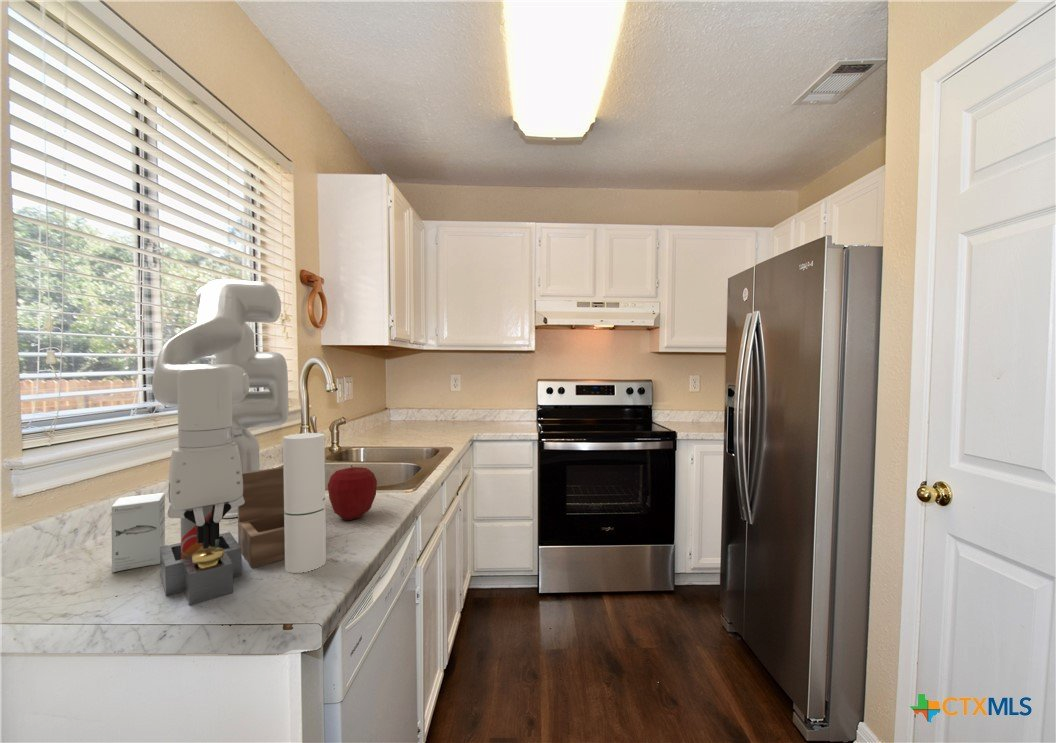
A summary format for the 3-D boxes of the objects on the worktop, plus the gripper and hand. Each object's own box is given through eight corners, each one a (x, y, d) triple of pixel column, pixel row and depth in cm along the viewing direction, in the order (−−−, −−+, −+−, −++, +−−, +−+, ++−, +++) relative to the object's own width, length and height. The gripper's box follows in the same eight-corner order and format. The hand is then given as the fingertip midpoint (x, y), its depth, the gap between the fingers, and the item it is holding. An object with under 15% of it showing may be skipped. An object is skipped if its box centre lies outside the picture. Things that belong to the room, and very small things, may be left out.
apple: (366, 525, 109) (366, 470, 109) (318, 525, 109) (318, 470, 109) (383, 509, 121) (383, 459, 121) (340, 509, 121) (339, 460, 121)
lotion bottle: (199, 583, 81) (197, 470, 80) (173, 580, 82) (171, 469, 82) (227, 569, 86) (225, 464, 86) (202, 566, 87) (200, 462, 87)
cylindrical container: (330, 555, 92) (328, 432, 92) (320, 571, 85) (318, 438, 85) (292, 558, 91) (290, 433, 90) (279, 574, 84) (277, 439, 83)
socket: (160, 573, 84) (159, 547, 84) (230, 556, 92) (229, 532, 92) (169, 611, 71) (169, 579, 71) (249, 587, 79) (249, 558, 79)
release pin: (191, 586, 78) (190, 552, 77) (221, 577, 81) (221, 545, 80) (194, 595, 74) (193, 560, 74) (226, 586, 77) (225, 552, 77)
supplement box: (110, 574, 85) (109, 506, 84) (119, 559, 91) (118, 496, 91) (161, 564, 88) (159, 500, 88) (166, 551, 95) (165, 491, 95)
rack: (238, 549, 96) (237, 473, 95) (295, 535, 103) (294, 465, 103) (251, 568, 87) (250, 484, 86) (312, 551, 94) (311, 474, 94)
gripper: (251, 431, 85) (253, 528, 86) (147, 441, 75) (150, 551, 75) (261, 436, 79) (263, 540, 80) (150, 447, 69) (153, 566, 70)
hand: (208, 545), depth 78 cm, fingers closed
